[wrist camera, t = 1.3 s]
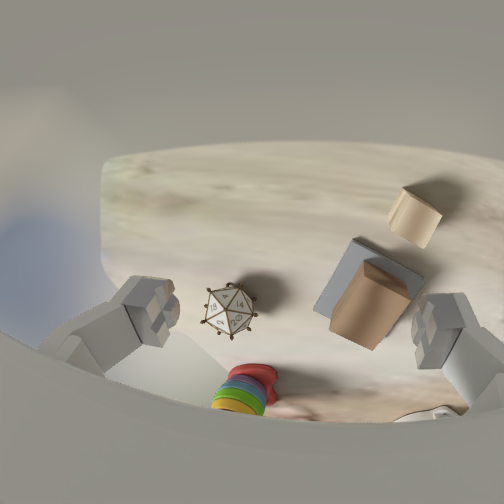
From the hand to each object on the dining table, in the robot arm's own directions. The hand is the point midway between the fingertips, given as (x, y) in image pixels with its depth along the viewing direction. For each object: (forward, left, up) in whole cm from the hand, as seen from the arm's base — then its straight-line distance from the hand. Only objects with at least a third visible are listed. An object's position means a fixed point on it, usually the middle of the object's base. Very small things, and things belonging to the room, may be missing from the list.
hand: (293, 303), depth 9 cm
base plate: (-11, +13, -30) cm, 35 cm away
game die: (+6, +24, -31) cm, 39 cm away
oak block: (-10, 0, -31) cm, 32 cm away
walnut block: (-11, +13, -29) cm, 34 cm away
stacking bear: (-3, +41, -31) cm, 51 cm away
